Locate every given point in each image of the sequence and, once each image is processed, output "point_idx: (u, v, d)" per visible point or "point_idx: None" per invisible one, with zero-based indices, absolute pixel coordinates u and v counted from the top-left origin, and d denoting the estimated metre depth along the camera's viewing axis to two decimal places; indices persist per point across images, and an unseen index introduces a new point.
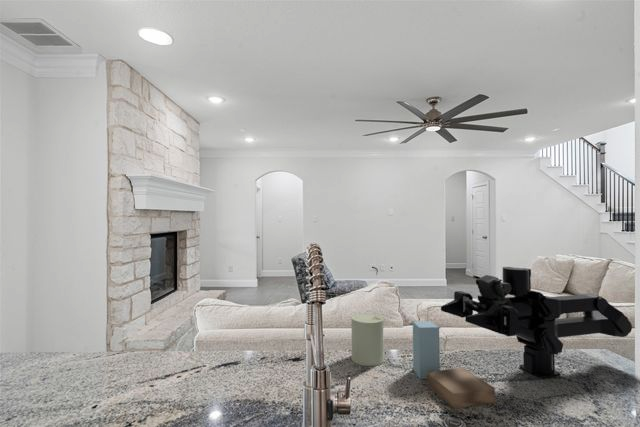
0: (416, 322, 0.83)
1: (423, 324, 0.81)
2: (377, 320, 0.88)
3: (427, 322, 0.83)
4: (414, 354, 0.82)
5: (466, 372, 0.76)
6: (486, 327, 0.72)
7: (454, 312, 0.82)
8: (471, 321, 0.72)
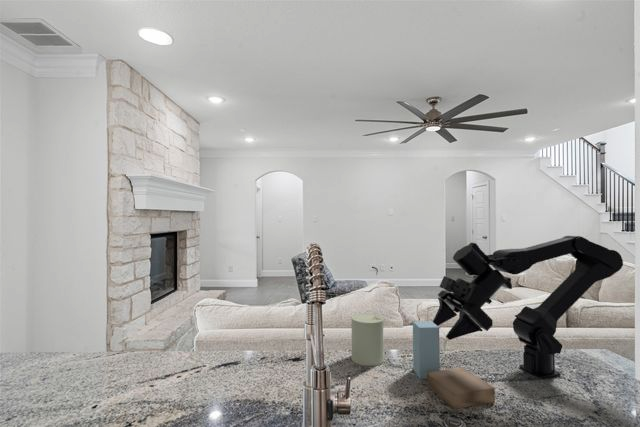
0: (416, 322, 0.83)
1: (423, 324, 0.81)
2: (377, 320, 0.88)
3: (427, 322, 0.83)
4: (414, 354, 0.82)
5: (466, 372, 0.76)
6: (467, 332, 0.76)
7: (446, 318, 0.86)
8: (452, 337, 0.76)
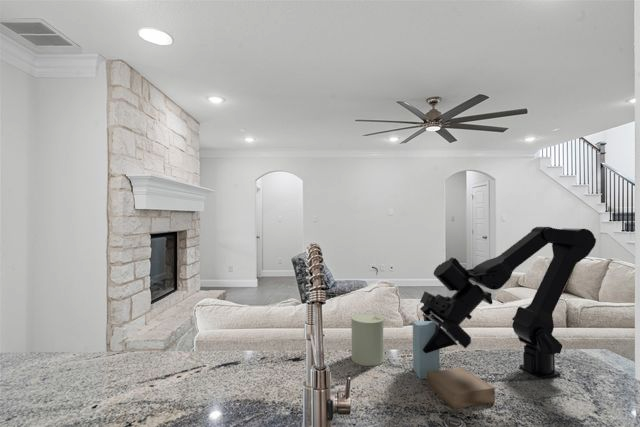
0: (416, 322, 0.83)
1: (423, 324, 0.81)
2: (377, 320, 0.88)
3: (427, 321, 0.83)
4: (414, 354, 0.82)
5: (466, 372, 0.76)
6: (443, 346, 0.77)
7: None
8: (429, 350, 0.78)
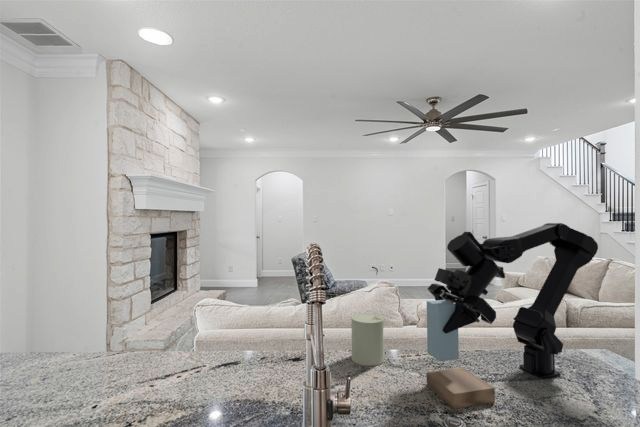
0: (431, 301, 0.77)
1: (439, 303, 0.76)
2: (377, 320, 0.88)
3: (441, 300, 0.78)
4: (430, 336, 0.76)
5: (466, 372, 0.76)
6: (464, 324, 0.73)
7: None
8: (449, 330, 0.73)
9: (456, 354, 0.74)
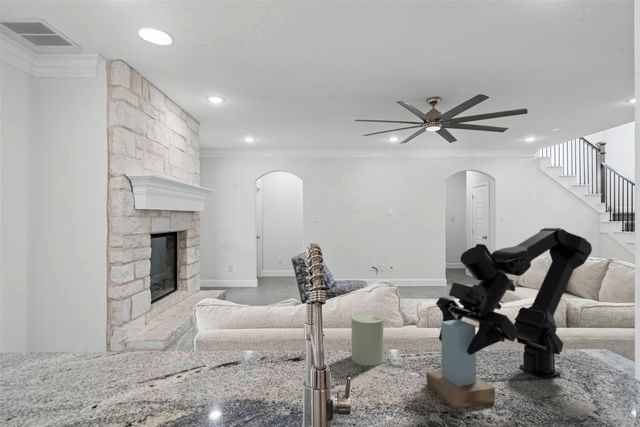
0: (446, 322, 0.73)
1: (456, 324, 0.72)
2: (377, 320, 0.88)
3: (455, 320, 0.74)
4: (446, 359, 0.72)
5: None
6: (488, 344, 0.68)
7: None
8: (473, 351, 0.68)
9: (474, 378, 0.70)
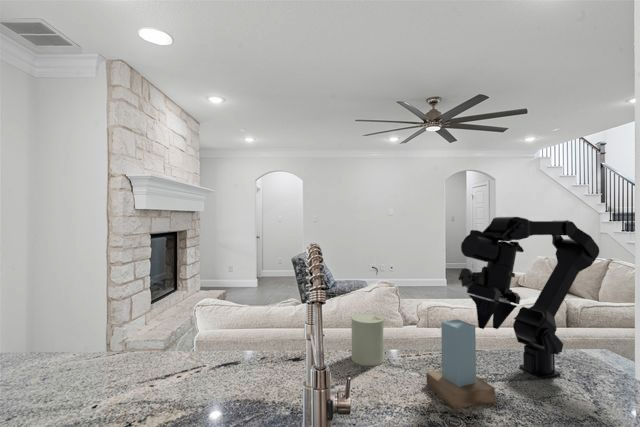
0: (446, 322, 0.73)
1: (456, 324, 0.72)
2: (377, 320, 0.88)
3: (455, 320, 0.74)
4: (446, 359, 0.72)
5: None
6: (489, 312, 0.73)
7: (503, 314, 0.81)
8: (483, 324, 0.75)
9: (474, 378, 0.70)
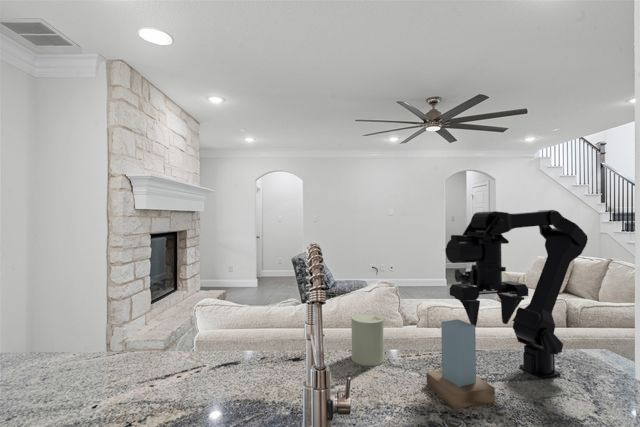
0: (446, 322, 0.73)
1: (456, 324, 0.72)
2: (377, 320, 0.88)
3: (455, 320, 0.74)
4: (446, 359, 0.72)
5: None
6: (473, 311, 0.76)
7: (509, 309, 0.79)
8: (472, 323, 0.77)
9: (474, 378, 0.70)
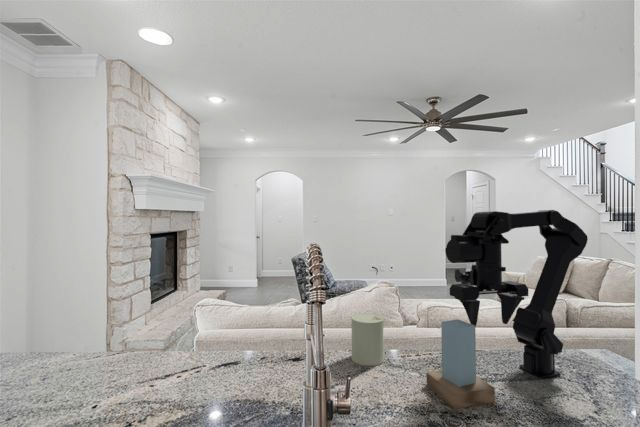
0: (446, 322, 0.73)
1: (456, 324, 0.72)
2: (377, 320, 0.88)
3: (455, 320, 0.74)
4: (446, 359, 0.72)
5: None
6: (473, 311, 0.76)
7: (509, 309, 0.79)
8: (472, 323, 0.77)
9: (474, 378, 0.70)
